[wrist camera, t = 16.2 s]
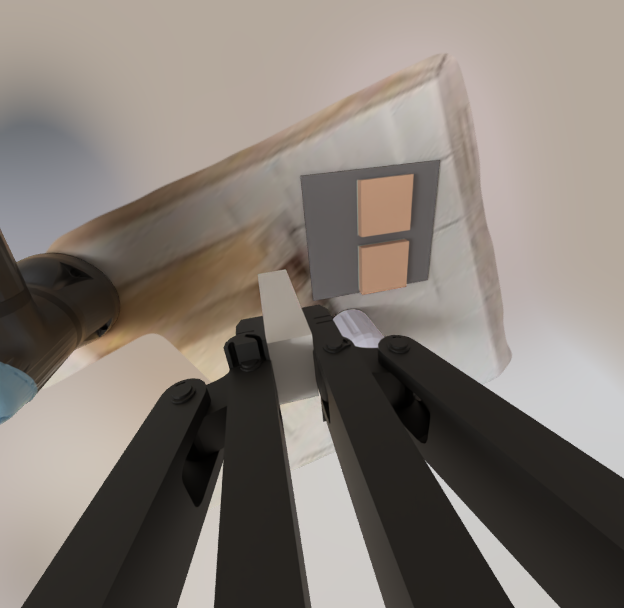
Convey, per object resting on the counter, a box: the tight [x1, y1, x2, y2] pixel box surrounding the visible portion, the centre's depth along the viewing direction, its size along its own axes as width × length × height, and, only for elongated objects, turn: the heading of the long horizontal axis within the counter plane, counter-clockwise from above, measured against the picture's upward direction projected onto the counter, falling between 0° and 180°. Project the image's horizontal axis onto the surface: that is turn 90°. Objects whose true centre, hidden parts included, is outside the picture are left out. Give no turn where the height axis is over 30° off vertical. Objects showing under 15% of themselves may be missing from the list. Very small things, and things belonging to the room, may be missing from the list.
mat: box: [301, 160, 440, 301], centre depth 51 cm, size 24×22×1 cm
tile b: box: [358, 239, 409, 295], centre depth 53 cm, size 2×9×9 cm
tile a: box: [357, 174, 414, 237], centre depth 48 cm, size 2×9×9 cm
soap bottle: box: [333, 309, 384, 348], centre depth 49 cm, size 9×9×25 cm
